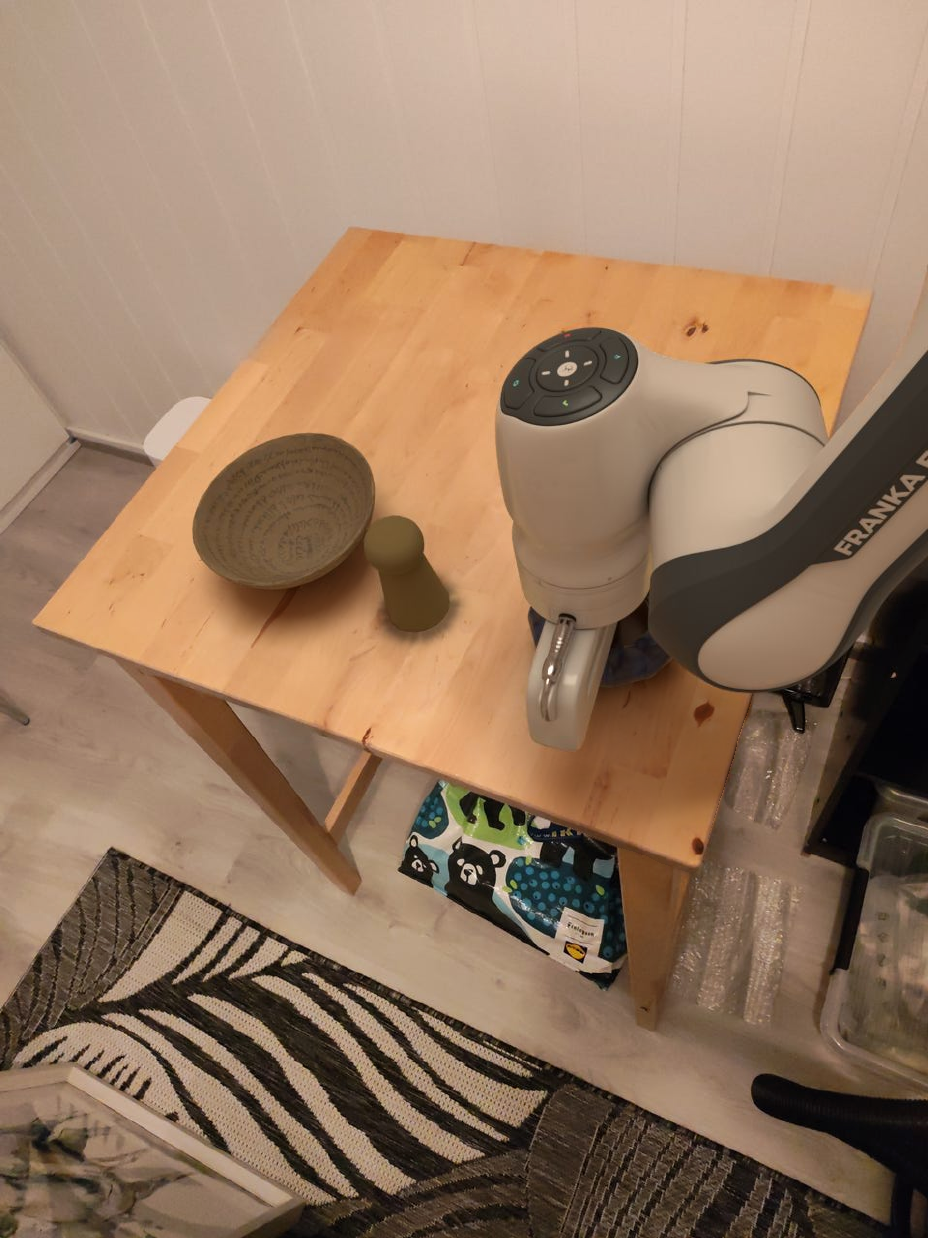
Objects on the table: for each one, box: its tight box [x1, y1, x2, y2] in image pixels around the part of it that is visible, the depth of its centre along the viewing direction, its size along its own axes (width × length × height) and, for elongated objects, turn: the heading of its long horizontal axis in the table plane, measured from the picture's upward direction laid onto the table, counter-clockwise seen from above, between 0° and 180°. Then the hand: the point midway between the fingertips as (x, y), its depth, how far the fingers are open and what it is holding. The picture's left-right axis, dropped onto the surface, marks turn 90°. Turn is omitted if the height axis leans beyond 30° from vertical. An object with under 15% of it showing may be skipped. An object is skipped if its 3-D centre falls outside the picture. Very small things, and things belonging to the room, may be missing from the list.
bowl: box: [191, 432, 376, 590], centre depth 79 cm, size 18×18×8 cm
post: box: [610, 599, 670, 669], centre depth 66 cm, size 8×8×11 cm
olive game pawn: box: [363, 515, 450, 633], centre depth 72 cm, size 6×6×11 cm
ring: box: [527, 588, 673, 688], centre depth 67 cm, size 13×13×3 cm
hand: (593, 663), depth 64 cm, fingers closed on ring, 3 cm apart
